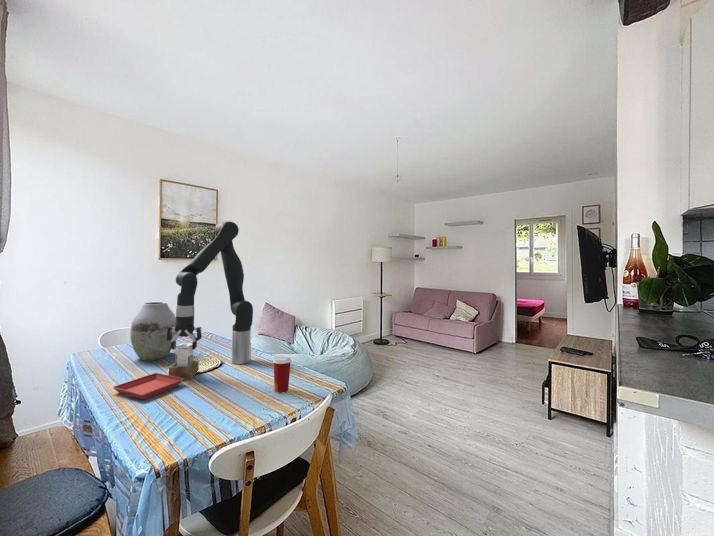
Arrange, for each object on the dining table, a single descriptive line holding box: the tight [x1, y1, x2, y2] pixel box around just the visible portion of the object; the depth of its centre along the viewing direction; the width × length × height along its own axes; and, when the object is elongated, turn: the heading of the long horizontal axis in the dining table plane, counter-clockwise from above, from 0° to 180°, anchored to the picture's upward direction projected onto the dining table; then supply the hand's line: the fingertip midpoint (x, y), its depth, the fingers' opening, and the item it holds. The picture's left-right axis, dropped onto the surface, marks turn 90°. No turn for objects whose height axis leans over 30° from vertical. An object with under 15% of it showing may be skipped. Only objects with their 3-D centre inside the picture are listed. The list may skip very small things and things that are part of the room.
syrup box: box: [174, 342, 195, 367], centre depth 143 cm, size 6×6×14 cm
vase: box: [129, 301, 176, 362], centre depth 168 cm, size 21×21×30 cm
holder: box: [168, 359, 200, 380], centre depth 143 cm, size 10×10×6 cm
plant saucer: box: [112, 372, 184, 400], centre depth 127 cm, size 18×18×3 cm
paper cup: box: [272, 354, 292, 394], centre depth 130 cm, size 8×8×14 cm
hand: (184, 349), depth 143 cm, fingers open, 8 cm apart
